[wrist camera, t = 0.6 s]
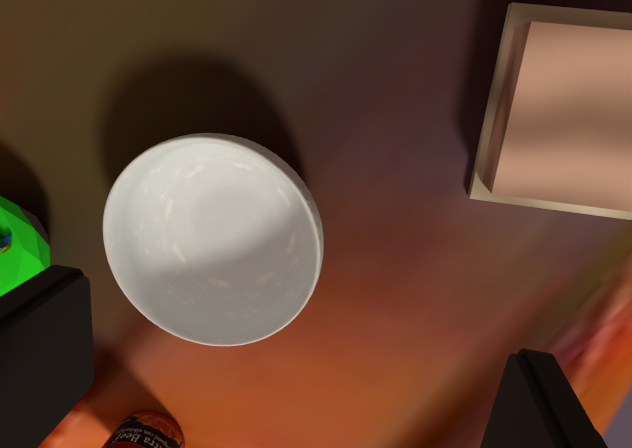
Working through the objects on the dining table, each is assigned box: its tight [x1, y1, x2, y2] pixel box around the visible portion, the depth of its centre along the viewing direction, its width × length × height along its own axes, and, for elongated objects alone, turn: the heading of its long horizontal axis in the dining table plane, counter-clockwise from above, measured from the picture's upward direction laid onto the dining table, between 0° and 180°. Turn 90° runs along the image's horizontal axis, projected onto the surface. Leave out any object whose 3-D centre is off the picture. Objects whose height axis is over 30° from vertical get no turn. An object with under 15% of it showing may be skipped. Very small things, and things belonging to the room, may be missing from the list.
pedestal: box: [468, 3, 632, 220], centre depth 32 cm, size 14×12×5 cm
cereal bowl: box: [103, 133, 324, 346], centre depth 38 cm, size 17×17×7 cm
